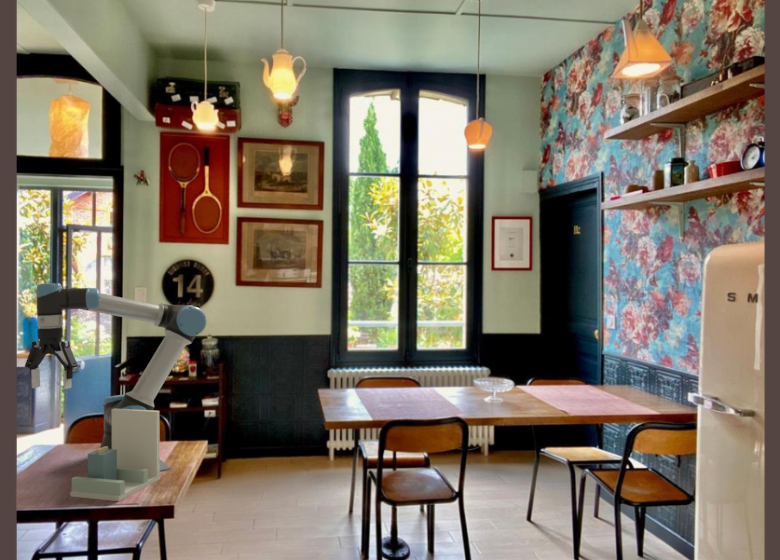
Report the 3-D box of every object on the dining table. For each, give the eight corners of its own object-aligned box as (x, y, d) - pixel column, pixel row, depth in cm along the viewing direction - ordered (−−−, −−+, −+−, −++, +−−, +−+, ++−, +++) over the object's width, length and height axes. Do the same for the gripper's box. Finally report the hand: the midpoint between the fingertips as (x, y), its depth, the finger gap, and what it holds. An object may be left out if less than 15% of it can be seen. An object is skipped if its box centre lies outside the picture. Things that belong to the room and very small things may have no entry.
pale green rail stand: (115, 475, 194) (115, 408, 194) (160, 478, 190) (159, 410, 190) (70, 496, 175) (70, 422, 175) (119, 501, 171) (118, 425, 171)
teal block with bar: (101, 481, 184) (101, 444, 184) (116, 482, 182) (116, 445, 182) (87, 487, 178) (87, 450, 178) (103, 489, 177) (103, 451, 177)
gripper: (11, 328, 193) (13, 389, 193) (70, 328, 186) (72, 390, 186) (30, 326, 200) (32, 385, 200) (88, 326, 194) (89, 386, 194)
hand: (51, 388), depth 193 cm, fingers open, 13 cm apart
